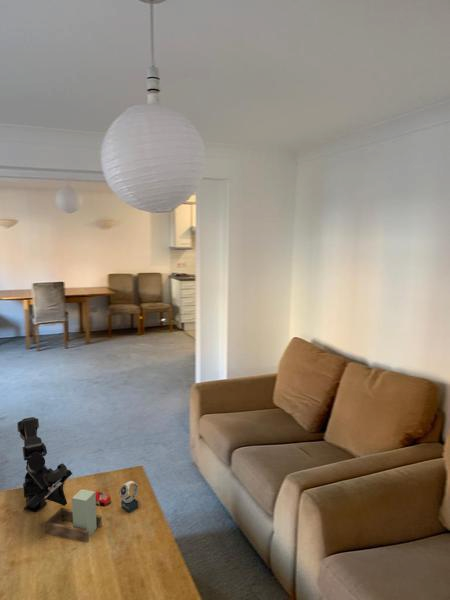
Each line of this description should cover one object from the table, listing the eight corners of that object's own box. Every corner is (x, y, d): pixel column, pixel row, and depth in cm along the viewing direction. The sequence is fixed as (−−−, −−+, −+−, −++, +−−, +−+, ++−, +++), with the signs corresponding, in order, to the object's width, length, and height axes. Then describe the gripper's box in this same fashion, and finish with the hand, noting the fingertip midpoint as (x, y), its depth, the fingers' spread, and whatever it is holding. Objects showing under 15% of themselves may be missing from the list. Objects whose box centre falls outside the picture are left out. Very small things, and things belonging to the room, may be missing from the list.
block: (73, 535, 160) (71, 498, 158) (83, 525, 166) (81, 489, 164) (87, 538, 158) (86, 500, 156) (96, 528, 164) (95, 491, 162)
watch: (117, 509, 176) (116, 484, 174) (133, 500, 182) (132, 476, 180) (125, 515, 172) (125, 489, 171) (141, 506, 178) (141, 481, 177)
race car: (113, 500, 182) (113, 491, 182) (107, 508, 177) (106, 499, 176) (85, 496, 185) (85, 487, 185) (78, 503, 180) (78, 494, 179)
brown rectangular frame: (45, 533, 161) (44, 523, 160) (61, 517, 171) (61, 507, 170) (87, 542, 156) (86, 532, 156) (101, 525, 166) (101, 515, 165)
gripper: (34, 474, 153) (62, 507, 152) (67, 450, 171) (92, 480, 169) (17, 490, 156) (44, 524, 155) (51, 465, 174) (76, 495, 173)
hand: (66, 504), depth 163 cm, fingers closed
